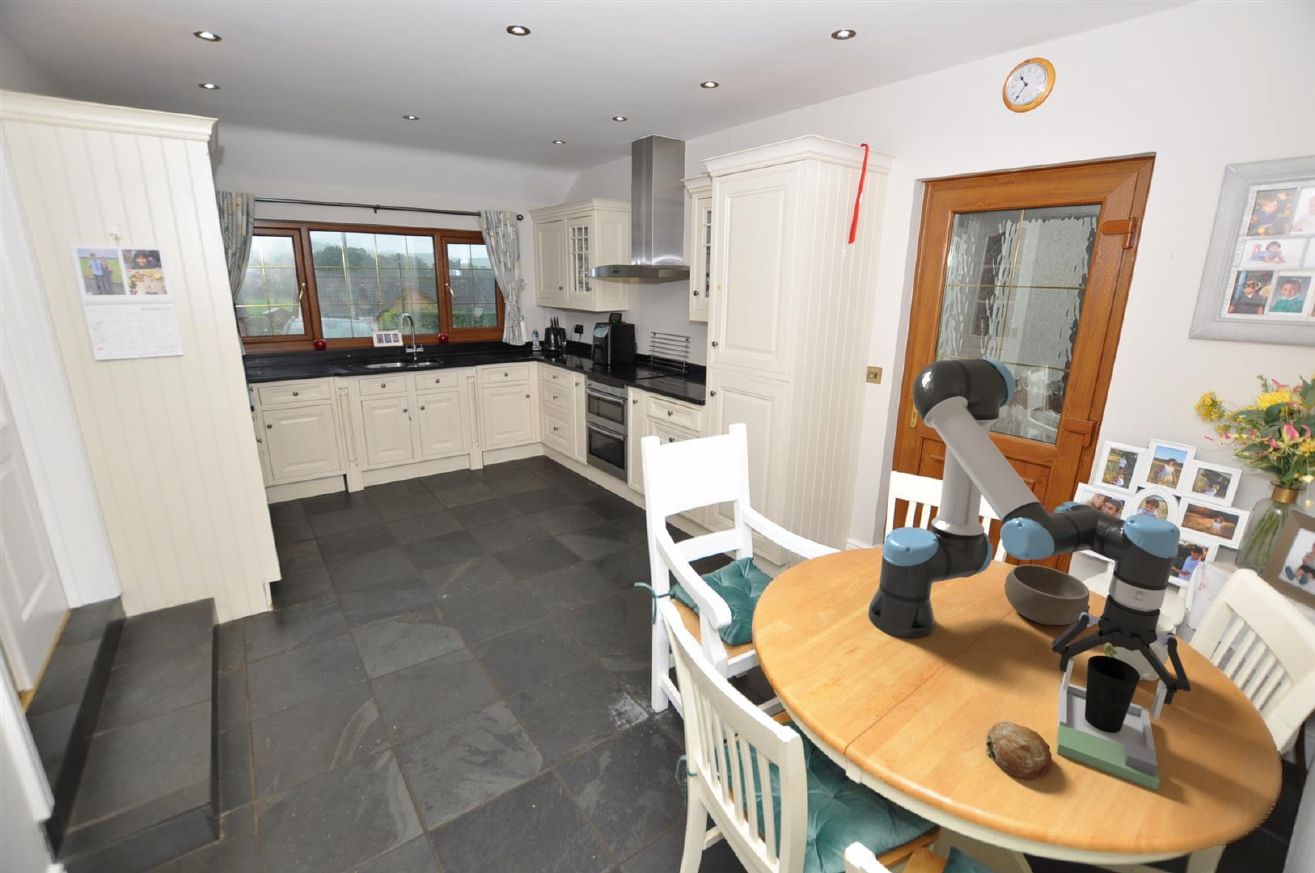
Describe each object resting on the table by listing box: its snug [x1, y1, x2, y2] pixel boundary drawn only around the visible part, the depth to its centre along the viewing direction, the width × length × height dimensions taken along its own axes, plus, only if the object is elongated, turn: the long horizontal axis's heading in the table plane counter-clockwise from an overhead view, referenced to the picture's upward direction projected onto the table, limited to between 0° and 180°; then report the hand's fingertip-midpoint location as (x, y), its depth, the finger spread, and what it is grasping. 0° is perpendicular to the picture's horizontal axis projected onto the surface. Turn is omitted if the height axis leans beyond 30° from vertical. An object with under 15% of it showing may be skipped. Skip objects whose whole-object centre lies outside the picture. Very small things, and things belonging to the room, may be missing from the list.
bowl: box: [1004, 564, 1091, 626], centre depth 146 cm, size 17×18×10 cm
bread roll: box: [985, 720, 1053, 781], centre depth 103 cm, size 10×10×8 cm
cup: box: [1085, 654, 1140, 733], centre depth 109 cm, size 8×8×12 cm
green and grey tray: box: [1056, 680, 1161, 792], centre depth 108 cm, size 14×20×4 cm
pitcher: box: [1103, 611, 1176, 682], centre depth 124 cm, size 11×18×14 cm, turn 163°
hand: (1108, 699), depth 109 cm, fingers open, 13 cm apart
